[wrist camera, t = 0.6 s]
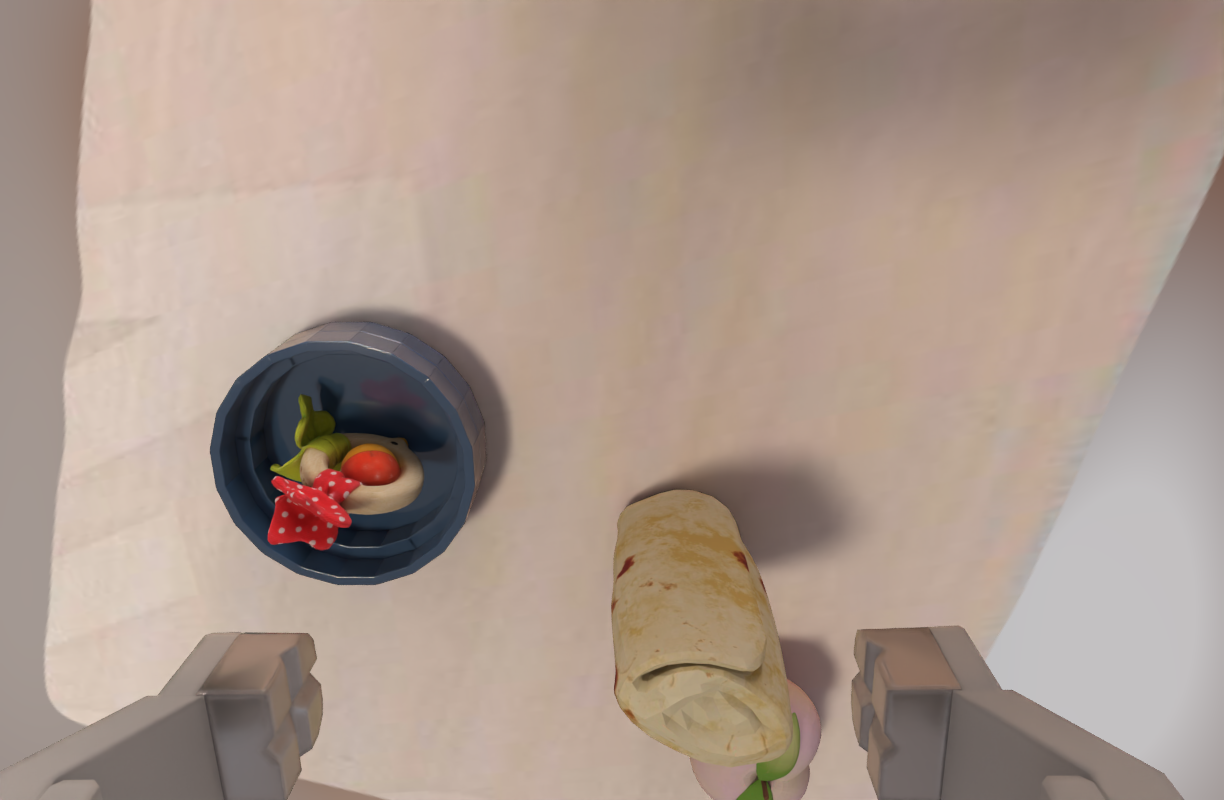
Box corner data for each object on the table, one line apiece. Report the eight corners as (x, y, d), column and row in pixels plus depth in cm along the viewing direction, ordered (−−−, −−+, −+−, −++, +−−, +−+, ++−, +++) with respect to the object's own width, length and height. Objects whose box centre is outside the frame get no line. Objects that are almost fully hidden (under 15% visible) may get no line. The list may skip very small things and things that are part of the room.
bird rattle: (411, 388, 60) (262, 386, 57) (449, 460, 51) (274, 462, 47) (403, 476, 63) (259, 479, 59) (439, 560, 53) (269, 570, 49)
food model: (599, 544, 62) (584, 747, 43) (638, 458, 60) (640, 631, 41) (734, 594, 63) (777, 814, 44) (776, 512, 61) (840, 705, 42)
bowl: (227, 321, 58) (191, 342, 53) (479, 318, 57) (464, 339, 52) (262, 547, 63) (231, 585, 58) (493, 546, 62) (482, 584, 57)
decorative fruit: (697, 629, 64) (709, 723, 54) (815, 647, 64) (846, 744, 55) (673, 741, 67) (679, 849, 57) (785, 758, 67) (810, 868, 57)
